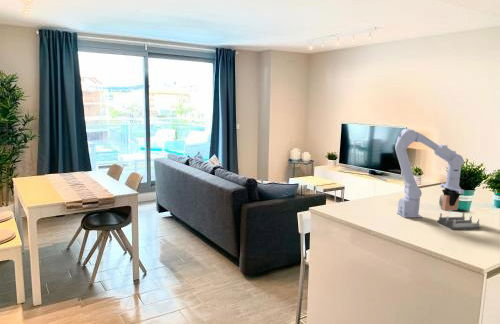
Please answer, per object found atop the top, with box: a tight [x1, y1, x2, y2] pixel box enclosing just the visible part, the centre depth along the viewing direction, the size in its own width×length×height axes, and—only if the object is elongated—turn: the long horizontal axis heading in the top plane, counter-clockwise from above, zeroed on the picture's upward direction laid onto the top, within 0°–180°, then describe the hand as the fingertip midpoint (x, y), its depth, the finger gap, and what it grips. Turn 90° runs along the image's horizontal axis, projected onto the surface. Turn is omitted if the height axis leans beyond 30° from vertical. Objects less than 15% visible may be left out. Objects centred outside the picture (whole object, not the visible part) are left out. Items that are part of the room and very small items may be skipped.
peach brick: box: [442, 194, 460, 211], centre depth 188 cm, size 7×2×7 cm, turn 99°
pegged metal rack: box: [436, 212, 481, 231], centre depth 178 cm, size 14×11×4 cm
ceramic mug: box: [438, 194, 444, 210], centre depth 207 cm, size 11×8×8 cm
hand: (449, 204), depth 188 cm, fingers closed on peach brick, 2 cm apart
